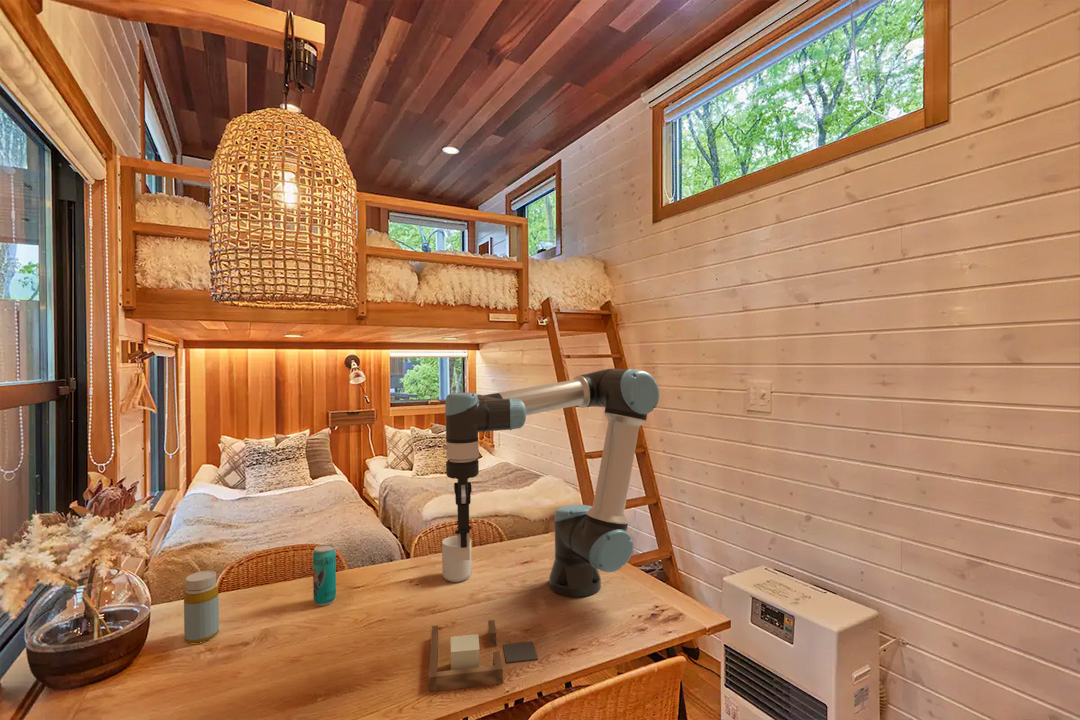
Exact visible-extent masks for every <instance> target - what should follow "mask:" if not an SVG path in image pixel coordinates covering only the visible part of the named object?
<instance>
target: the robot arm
mask: <svg viewBox="0 0 1080 720" xmlns="http://www.w3.org/2000/svg"><path fill="white" fill-rule="evenodd" d="M659 388H660V387H659V385H658V383H657V382H656V380H655V378H654V377H653V375H651V373H649V372H647V371H644V370H641V369H637V368H634V369H633V368H630V369H629V368H626V369H625V368H606V369H601V370H597V371H593V372H589V373H584V374H579V375H575V376H574V377H573V379H570V380H564V381H559V382H554V383H547V384H542V385H534V386H530V387H524V388H523V387H522V388H517V389H511V390H507V391H499V392H496V393H489V394H488V393H487V394H477V393H475V392H452V393H449V394H447V395H446V397H445V408H444V409H445V410H444V411H445V412H444V415H445V416H444V417H445V445H443V448H442V449H443V450H444V451H445V450H446V451H445V454H446V455H445V458H446V459H447V460H446V462H445V470H446V471H445V473H446V477H447V478H449V479H453V480H454V479H456V480H457V482H454V483H453V487H454V488H453V489H454V495H455V497H454V499H455V505H456V506H457V521H456V524H457V526H456V529H457V530H456V529H455V530H454V535H457V536H458V561H464V560H470V548H469V538H470V530H472V528H473V526H472V525H470V504H471V497H472V496H471V493H472V490H473V489H472V482H471V481H469V479H470V478H472V479H473V478H475V477H477V476H479V473H480V470H479V460H478V458H479V456H480V454H479V443H480V442H479V433H485V432H497V431H512V430H517V429H521V428H523V426H524V425H525V423H526V421H527V416H530V415H531V416H532V415H534V414H541V413H544V412H545V413H546V412H550V411H556V410H560V409H565V408H566V409H567V408H571V407H576V406H578V407H579V408H581V409H585V408H589V407H590V408H591V407H595V408H596V407H597V408H604V413H603V414H604V416H605V417H606V419H607V421H608V422H607V427H606V433H605V437H604V444H603V448H602V453H601V454H602V455H601V459H600V463H599V464H600V465H599V471H598V474H597V475H598V476H597V482H596V485H595V487H596V488H595V492H594V493H595V494H594V497H593V503H592V505H588V504H574V505H573V504H572V505H565V506H561V507H559V508H557V509H555V512H554V521H553V523H554V561H553V565H552V568H551V571H550V574H549V578H548V579H549V581H548V583H549V585H548V586H549V588H550V589H551V590H552V592H554V593H556V594H559V595H561V596H564V597H572V598H580V597H588V596H591V595H593V594H596V593H598V592H599V591H600V590H601V587H602V578H601V574H600V572H599V570H600V571H602V572H605V573H614V572H616V571H619V570H620V569H622V568H623V566H625V565H626V564H627V563H628V562H629V560H630V558H631V556H632V554H633V549H634V544H633V539H632V538H631V535H630V534H629V533H628V524H629V520H628V518H627V517H626V516H625V510H626V503H627V498H628V493H629V487H630V482H631V476H632V474H631V473H632V470H633V465H634V464H633V463H634V459H635V454H636V449H637V448H636V447H637V441H638V436H639V431H640V427H641V426H642V425H644V424H645V423H646V422H647V420H648V419H647V418H648V414H649V413H652V412H653V411H654V409H656V408H657V406H658V404H659V401H660V390H659Z"/></svg>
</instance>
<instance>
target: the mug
mask: <svg viewBox="0 0 1080 720" xmlns="http://www.w3.org/2000/svg"><path fill="white" fill-rule="evenodd" d="M469 548H470V560H464V561H458V535H453V536H448V537H446V538H444V539H442V541H441V549H442V550H441V559H442V560H441V561H442V563H441V570H442V573H441V574H442V577H443V578H444V579H445V580H446V581H447V582H451V583H460V582H464V581H467V580H468V579H469V578H470V577H471V575H472V571H473V570H472V569H473V568H472V567H473V566H472V564H473V563H472V561H473V560H472V559H473V558H472V556H473V555H472V554H473V553H472V539H471V537H469Z"/></svg>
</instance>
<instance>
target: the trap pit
mask: <svg viewBox="0 0 1080 720" xmlns="http://www.w3.org/2000/svg"><path fill="white" fill-rule="evenodd" d="M502 647H503V651H504V652H503V653H504V656H505V662H506V664H511V663H520V662H522V663H523V662H527V661H528V662H530V661H538V659H539V658H538V655H537V652H536V648H535V645H534V641H533V640H531V641H523V642H521V641H520V642H512V643H504V644H503V645H502Z"/></svg>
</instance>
